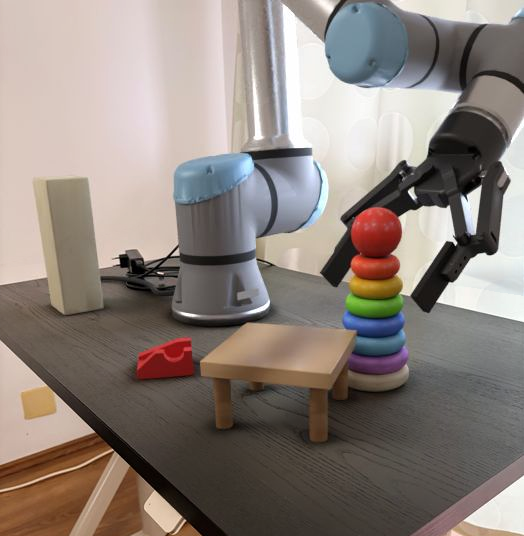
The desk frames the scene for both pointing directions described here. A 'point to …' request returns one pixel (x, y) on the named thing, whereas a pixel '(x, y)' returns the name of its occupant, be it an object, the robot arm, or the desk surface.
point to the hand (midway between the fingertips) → (369, 291)
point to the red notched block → (166, 360)
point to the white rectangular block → (68, 243)
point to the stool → (282, 366)
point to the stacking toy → (376, 304)
